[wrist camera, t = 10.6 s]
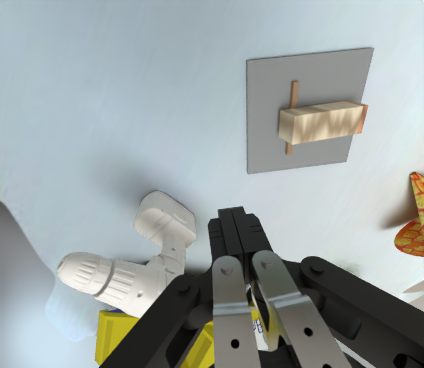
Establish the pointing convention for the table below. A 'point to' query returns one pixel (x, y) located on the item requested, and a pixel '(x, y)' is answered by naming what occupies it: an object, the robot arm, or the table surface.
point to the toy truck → (122, 322)
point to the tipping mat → (299, 105)
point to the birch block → (321, 121)
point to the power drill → (130, 272)
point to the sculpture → (414, 223)
